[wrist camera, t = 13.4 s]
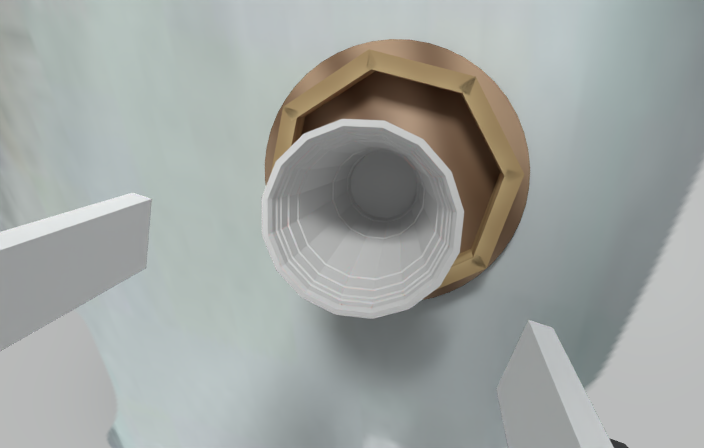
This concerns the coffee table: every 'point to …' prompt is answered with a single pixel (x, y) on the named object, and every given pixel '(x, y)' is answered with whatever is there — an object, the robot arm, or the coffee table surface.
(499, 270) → the coffee table surface
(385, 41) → the ring base
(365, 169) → the plastic cup
